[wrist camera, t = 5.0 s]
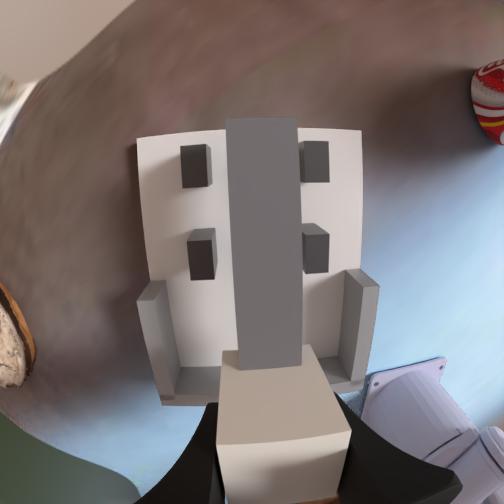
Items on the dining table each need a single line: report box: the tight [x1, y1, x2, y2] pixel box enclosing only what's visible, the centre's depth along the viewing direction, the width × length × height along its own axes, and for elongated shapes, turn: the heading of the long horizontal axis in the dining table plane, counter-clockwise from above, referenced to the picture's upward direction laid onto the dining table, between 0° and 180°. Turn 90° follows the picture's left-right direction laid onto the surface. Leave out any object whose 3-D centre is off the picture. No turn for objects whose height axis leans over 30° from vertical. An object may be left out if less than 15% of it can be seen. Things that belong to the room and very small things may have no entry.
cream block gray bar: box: [216, 117, 352, 504], centre depth 10 cm, size 14×4×6 cm, turn 2°
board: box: [137, 128, 380, 406], centre depth 17 cm, size 16×13×4 cm
